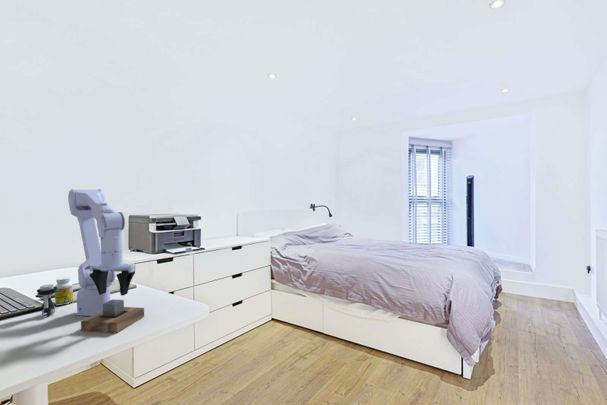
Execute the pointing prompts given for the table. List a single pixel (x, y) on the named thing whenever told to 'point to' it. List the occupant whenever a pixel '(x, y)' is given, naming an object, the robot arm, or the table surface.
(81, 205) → the robot arm
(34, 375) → the table surface
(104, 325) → the socket block
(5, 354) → the table surface
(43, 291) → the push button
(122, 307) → the steel peg
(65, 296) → the supplement bottle
